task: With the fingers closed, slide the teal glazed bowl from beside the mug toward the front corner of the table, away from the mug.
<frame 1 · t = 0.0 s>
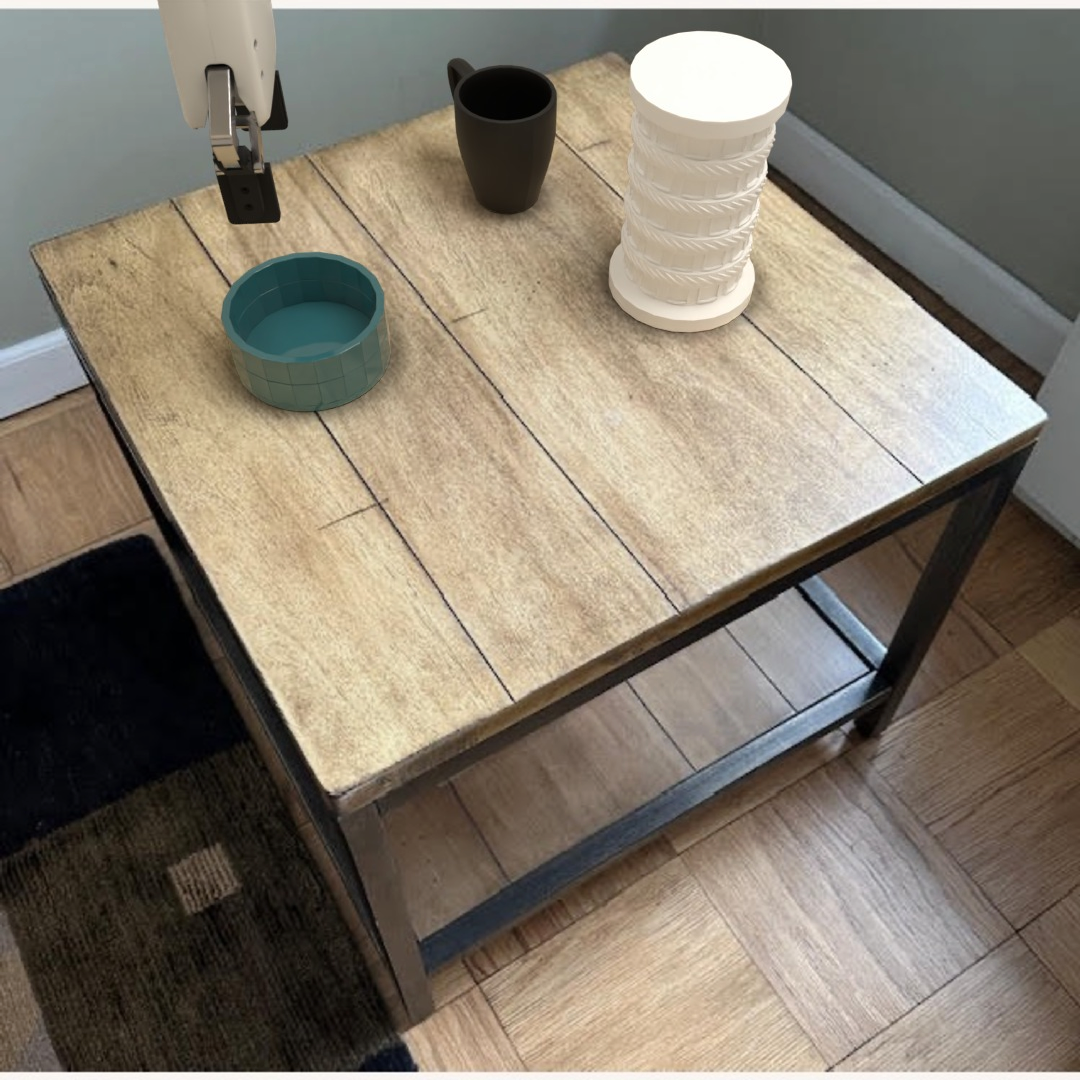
hand: (260, 172, 71), 15 cm above the table, tool pointing down, fingers open, 9 cm apart
decorative container: (679, 284, 88), on the table
mug: (495, 184, 96), on the table
bowl: (314, 354, 83), on the table
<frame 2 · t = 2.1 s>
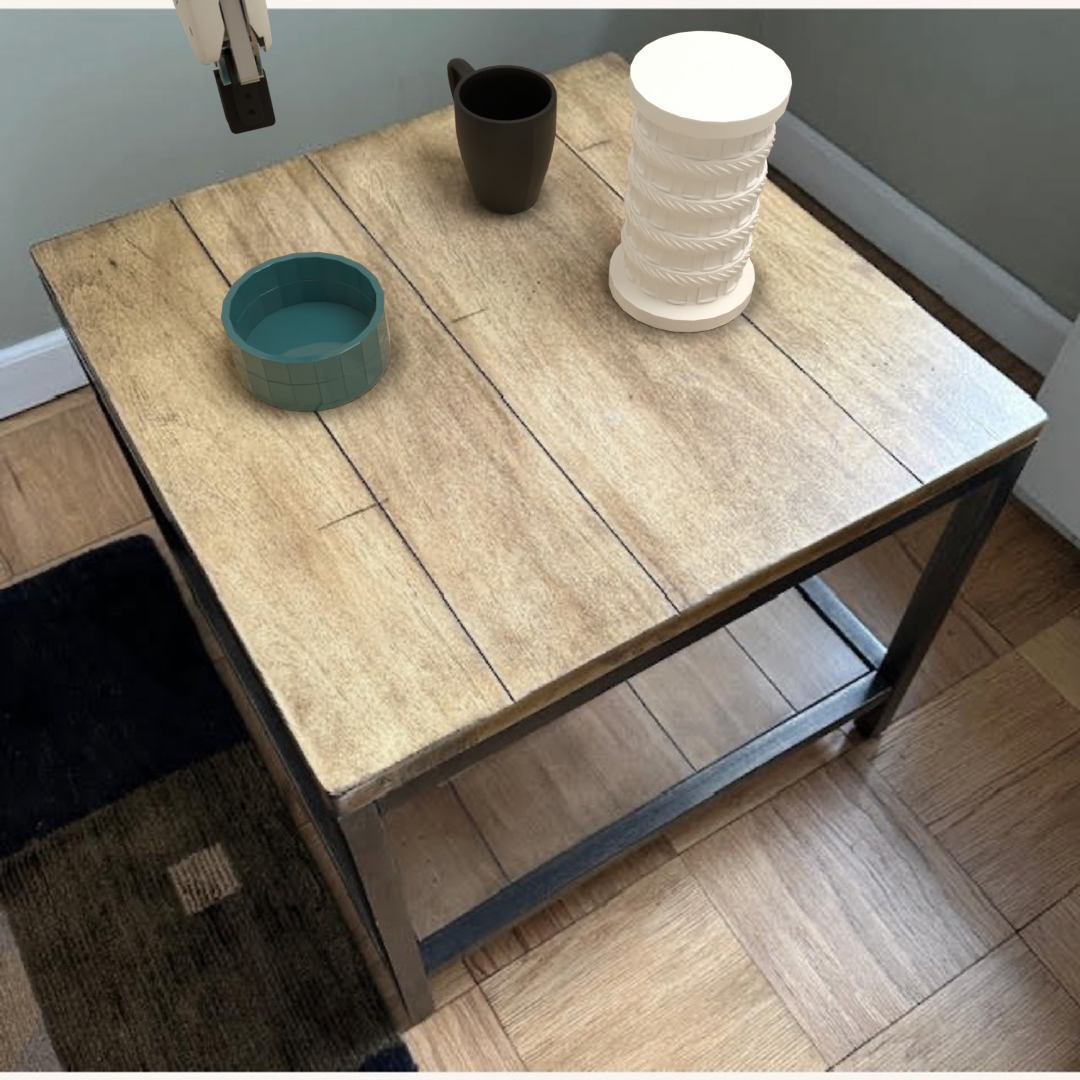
hand: (251, 123, 77), 14 cm above the table, tool pointing down, fingers closed
nothing on the table moved.
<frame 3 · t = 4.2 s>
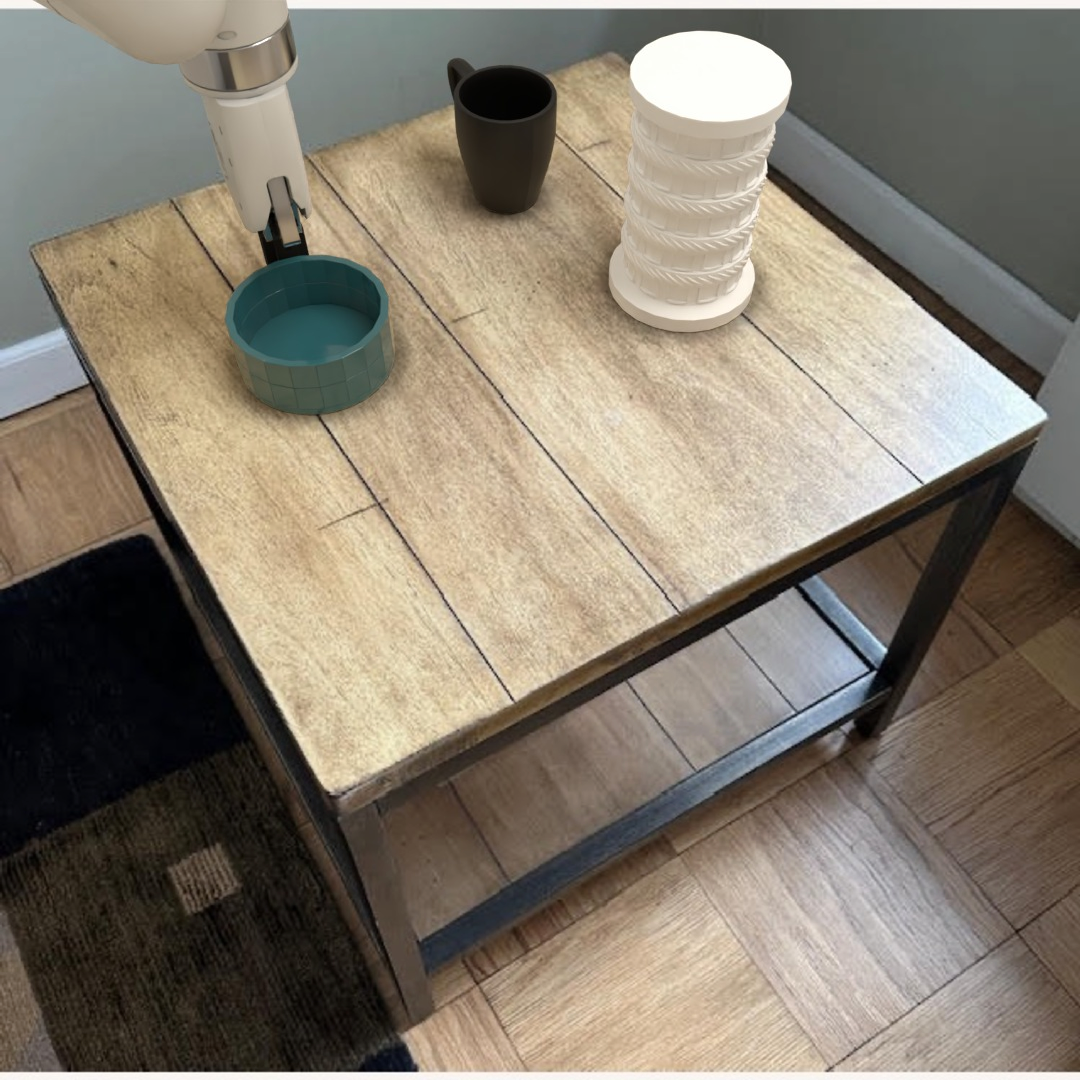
hand: (289, 267, 85), 2 cm above the table, tool pointing down, fingers closed
bowl: (318, 357, 83), on the table, touching gripper
everything else where it was.
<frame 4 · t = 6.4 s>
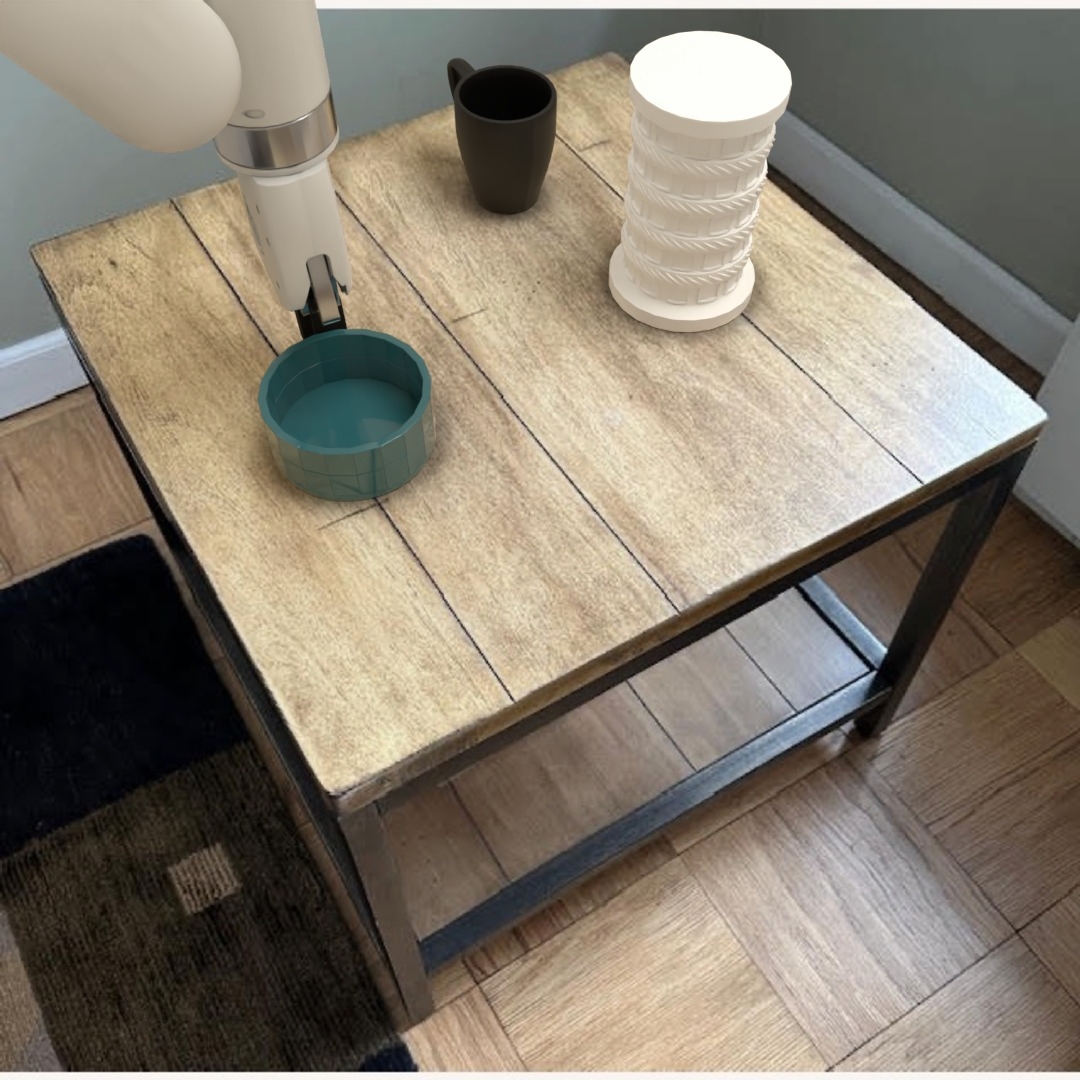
hand: (325, 338, 81), 2 cm above the table, tool pointing down, fingers closed
bowl: (354, 437, 78), on the table, touching gripper
everything else where it was.
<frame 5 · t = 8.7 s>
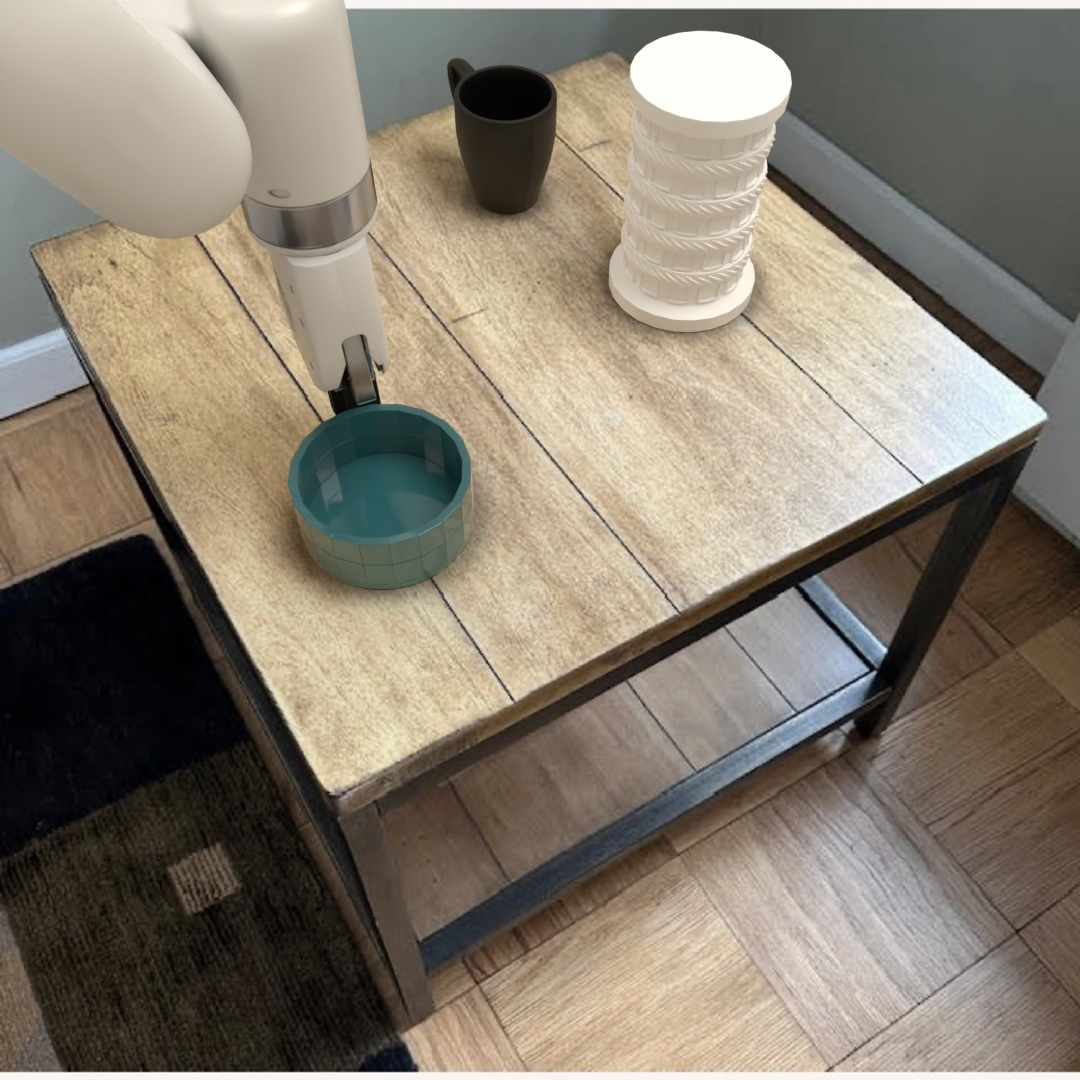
hand: (357, 411, 76), 2 cm above the table, tool pointing down, fingers closed
bowl: (388, 517, 74), on the table, touching gripper
everything else where it was.
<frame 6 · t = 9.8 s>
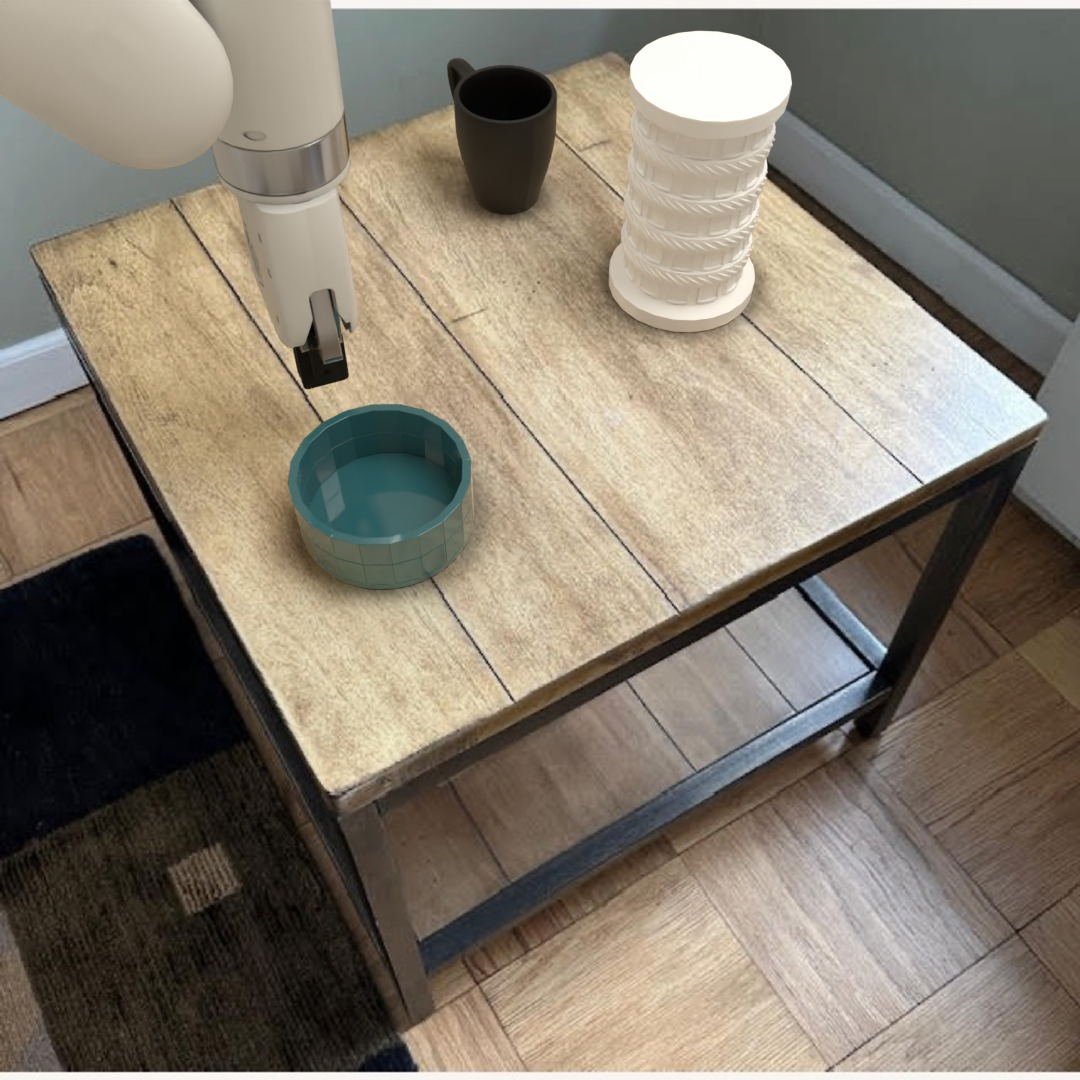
hand: (323, 376, 76), 4 cm above the table, tool pointing down, fingers closed
bowl: (388, 517, 74), on the table
everything else where it was.
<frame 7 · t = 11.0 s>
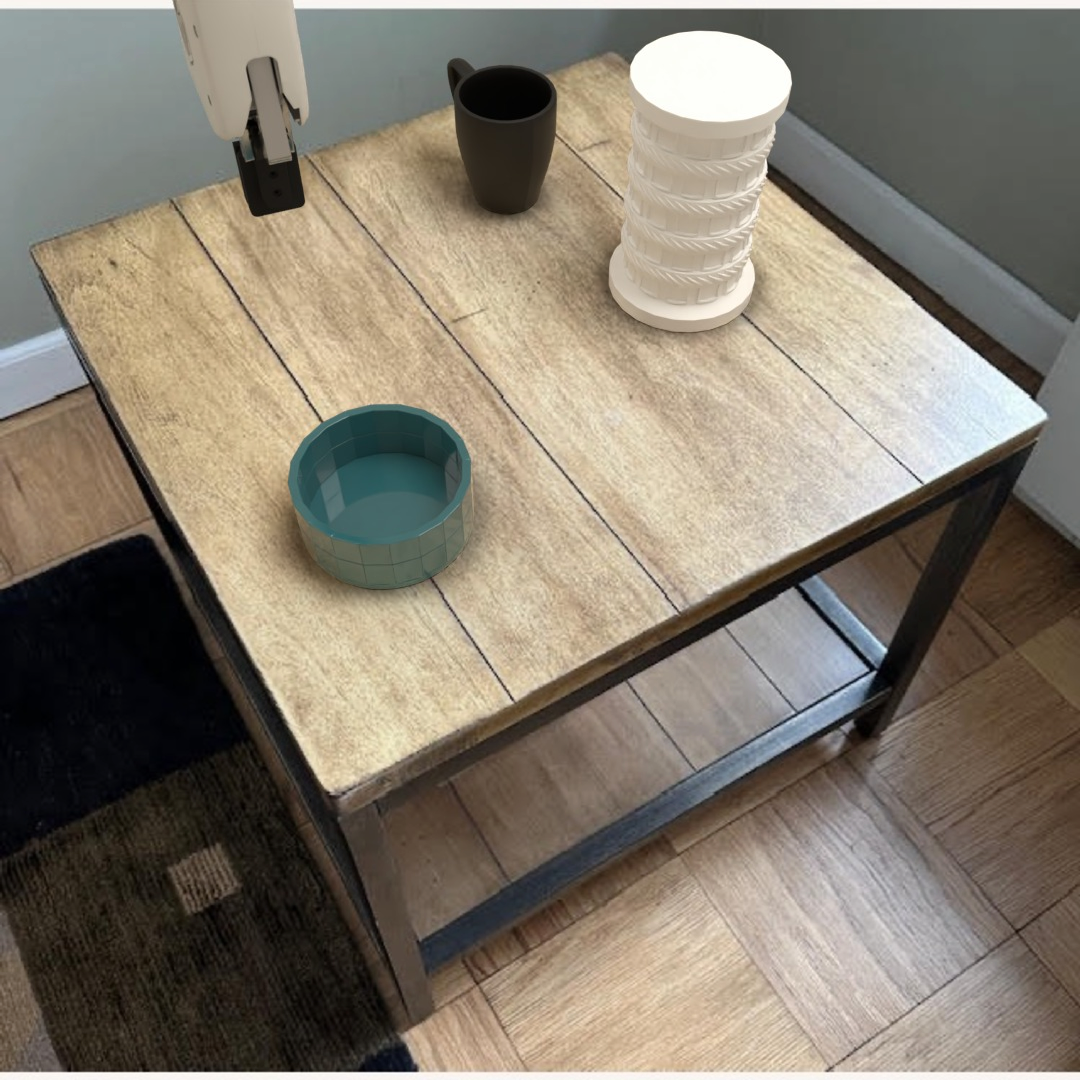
hand: (275, 203, 64), 19 cm above the table, tool pointing down, fingers closed
nothing on the table moved.
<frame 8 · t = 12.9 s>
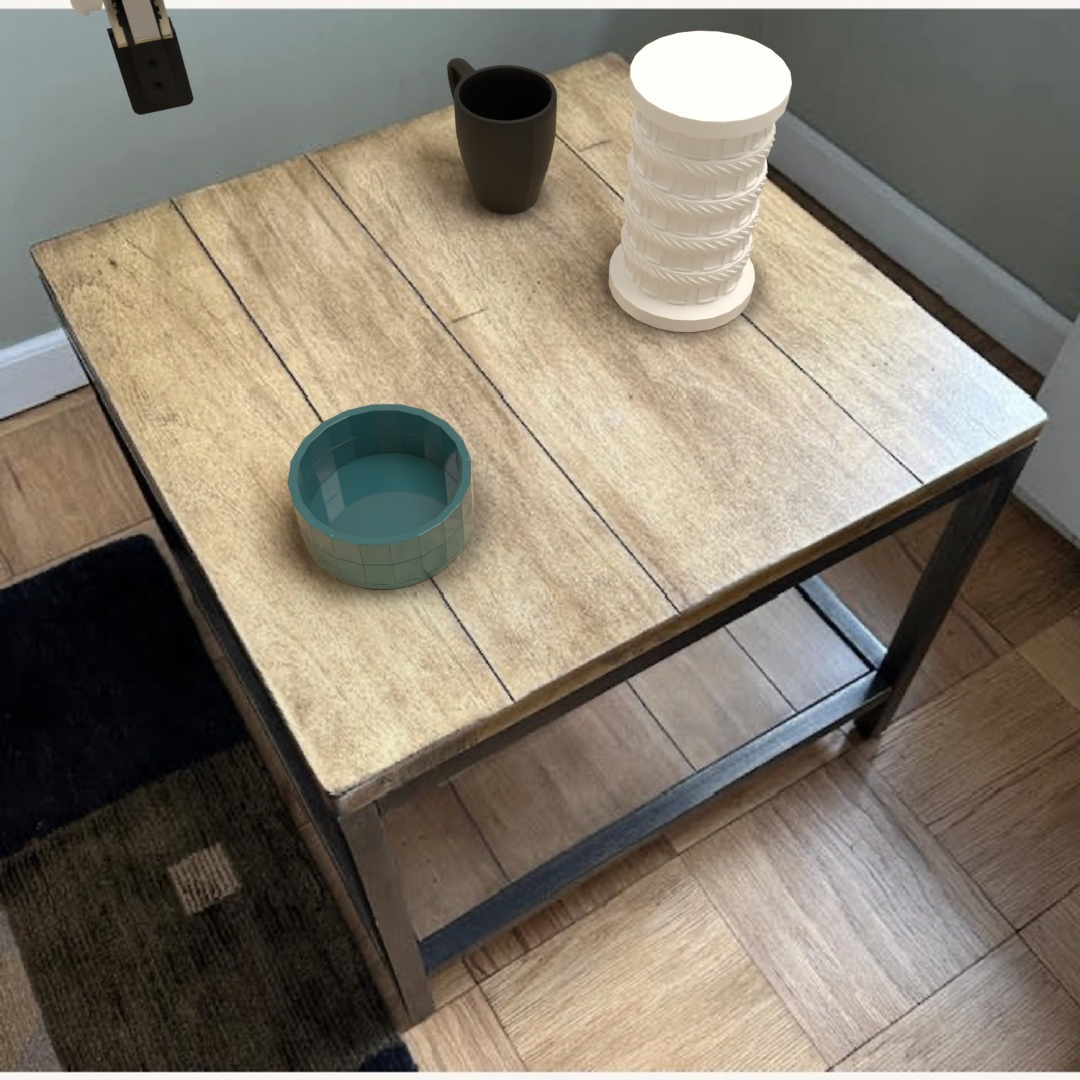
hand: (162, 101, 59), 25 cm above the table, tool pointing down, fingers closed
nothing on the table moved.
at the end: bowl inside the target area (0.5 cm from its centre), on the table; bowl tilted 0°; bowl touching table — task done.
